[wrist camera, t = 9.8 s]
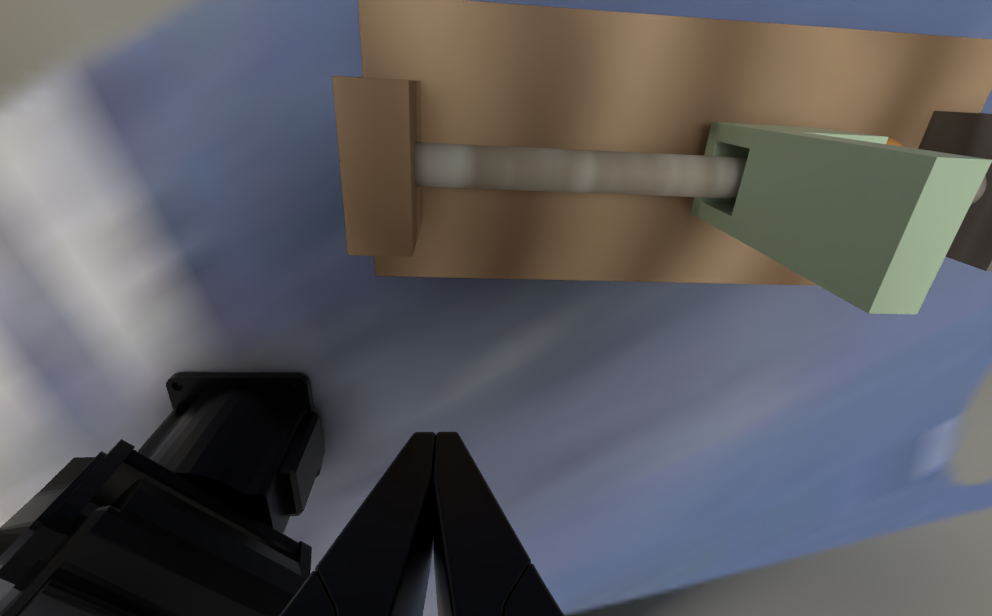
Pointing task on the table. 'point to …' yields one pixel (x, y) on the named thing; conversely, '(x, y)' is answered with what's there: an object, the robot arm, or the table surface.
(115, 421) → the table surface
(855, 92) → the linear slide rail
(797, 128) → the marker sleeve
